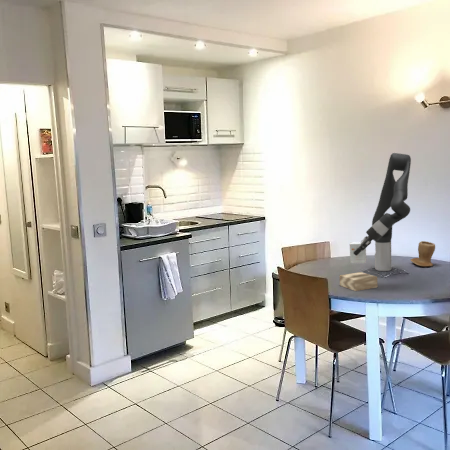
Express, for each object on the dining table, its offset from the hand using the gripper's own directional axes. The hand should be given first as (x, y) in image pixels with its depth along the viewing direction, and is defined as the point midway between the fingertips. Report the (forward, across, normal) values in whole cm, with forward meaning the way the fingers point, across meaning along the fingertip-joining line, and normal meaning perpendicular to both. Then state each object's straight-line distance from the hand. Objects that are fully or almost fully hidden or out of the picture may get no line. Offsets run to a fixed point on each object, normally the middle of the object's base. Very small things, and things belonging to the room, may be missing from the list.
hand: (354, 253), depth 271 cm
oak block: (+12, 0, +14) cm, 19 cm away
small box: (+2, 0, +5) cm, 5 cm away
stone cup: (-16, -54, +42) cm, 71 cm away
